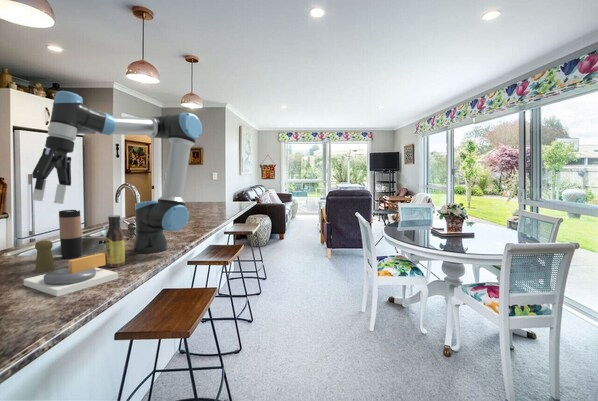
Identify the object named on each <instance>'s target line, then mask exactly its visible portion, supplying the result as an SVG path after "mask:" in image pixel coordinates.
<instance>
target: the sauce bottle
mask: <svg viewBox="0 0 598 401" xmlns="http://www.w3.org/2000/svg"><path fill="white" fill-rule="evenodd" d="M107 220H108V229H107V232H106V235H105V245H106V246H105V247H106V263H107V264H106V265H107V267H109V268H119V267H123V266H124V265H125V264H126V262H125V261H126V250H125V249H126V248H125V245H126V244H125V233H124V231H123V228H121V216H120V215H119V214H114V215H109V216H108V217H107Z"/></svg>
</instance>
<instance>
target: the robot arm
mask: <svg viewBox="0 0 598 401" xmlns="http://www.w3.org/2000/svg"><path fill="white" fill-rule="evenodd" d="M83 101H84V99H83V97H82V96H80V95H79V94H77V93H74V92H71V91H69V90H68V91H67V90H60V91H56V93H55V96H54V99H53V102H52V110H51V115H50V119H49V120H50V121H49V126H48V127H47V129H48V130H47V135H48V136H47V137H46V140H45V144H44V148H43V149H42V152H41V156H40V157H39V159H38V162H37V163H36V166H34V169H33V171H32V173H31V174H32V176H31V177H32V179H35V183H34V188H33V193H32V199H31V201H35V202H36V201H37V202H44V201H45V197H46V196H45V195H46V191H47V186H48V180H47V178H48V177H49V175H50V174H51V172H52V171H53V170H54V168H55V170H56V174H57V179H58V184H56V185H57V186H56V190H55V194H54V201H53V204H61V205H64V204H65V200H66V193H67V190H68V187H69V186H70V187H71V185H72V170H71V168H72V166H71V165H72V157H71V156H68V153H69V154H71V153H73V152H74V148H75V142H74V141H76V140H77V135H79V134H87V135H90V134H91V135H93V134H94V135H106V136H111V135H120V136H121V135H122V136H123V135H128V136H147V137H149V138H150V139H151V138H153V139H154V138H155V139H156V138H157V139H165V140H168V142H169V143H170V149H169V154H168V160H167V166H166V173H165V179H164V183H163V184H164V185H163V190H162V195H161V196H160V197H158V198H157V200H149V201H147V200H146V201H140V202H137V203H135V206H134V207H135V208H134V213H135V233H136V234H135V238H134V240H133V241H134V242H133V244H132V252H133V253H136V254H152V253H159V252H163V251H166V250H168V246H169V245H168V241H167V238H166V237H165V236H166V235H165V233H164V231H167V232H179V231H180V230H182V229H183V228H185V227H186V226H187V223H188V222H189V217H190V213H189V211H188V208H187V207H186V201H185V200H184V198H183V197H184V192H185V185H186V180H187V172H188V166H189V161H190V153H191V149H192V147H194V146H195V143H196V140H197V139H198V138H199V137H201V136H202V133H203V125H202V122H201V121H200V118H199V117H198V116H197V115H196V114H194V113H191V112H182V113H173V114H164V115H160V116H158V115H157V116H146V117H145V118H144V117H133V116H132V117H131V116H119V115H118V116H117V115H111V114H109V113H107V112H103V111H101V110H98V109H95V108H93V107H90V106H87V105H85V104H83V103H84V102H83Z"/></svg>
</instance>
